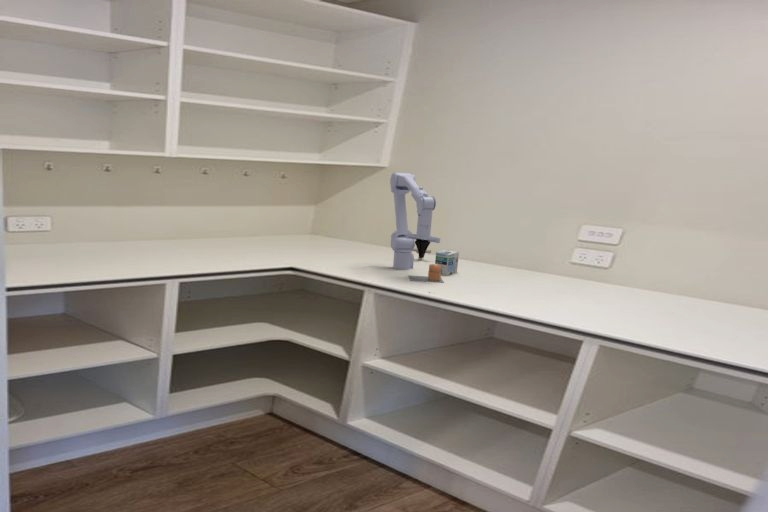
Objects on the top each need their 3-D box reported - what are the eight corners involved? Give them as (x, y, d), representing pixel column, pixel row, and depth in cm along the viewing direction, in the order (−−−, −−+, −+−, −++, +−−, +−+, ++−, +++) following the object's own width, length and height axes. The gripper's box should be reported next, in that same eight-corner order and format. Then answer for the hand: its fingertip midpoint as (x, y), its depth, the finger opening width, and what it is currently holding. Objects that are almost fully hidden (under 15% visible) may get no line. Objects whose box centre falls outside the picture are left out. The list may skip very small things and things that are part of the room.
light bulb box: (447, 278, 228) (449, 254, 225) (433, 276, 231) (435, 252, 229) (457, 275, 236) (459, 251, 234) (443, 272, 240) (445, 249, 238)
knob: (437, 281, 215) (438, 266, 214) (426, 279, 217) (427, 265, 216) (441, 279, 220) (442, 264, 218) (431, 277, 222) (432, 263, 220)
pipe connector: (407, 260, 263) (409, 240, 261) (414, 257, 272) (415, 238, 270) (426, 263, 259) (428, 243, 257) (432, 259, 268) (434, 240, 266)
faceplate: (409, 283, 213) (410, 275, 213) (408, 278, 223) (408, 270, 223) (443, 285, 214) (444, 277, 213) (440, 280, 224) (441, 272, 223)
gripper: (404, 224, 216) (401, 256, 218) (436, 228, 209) (433, 261, 212) (411, 222, 222) (408, 254, 224) (443, 227, 216) (440, 259, 218)
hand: (421, 257), depth 219 cm, fingers closed
